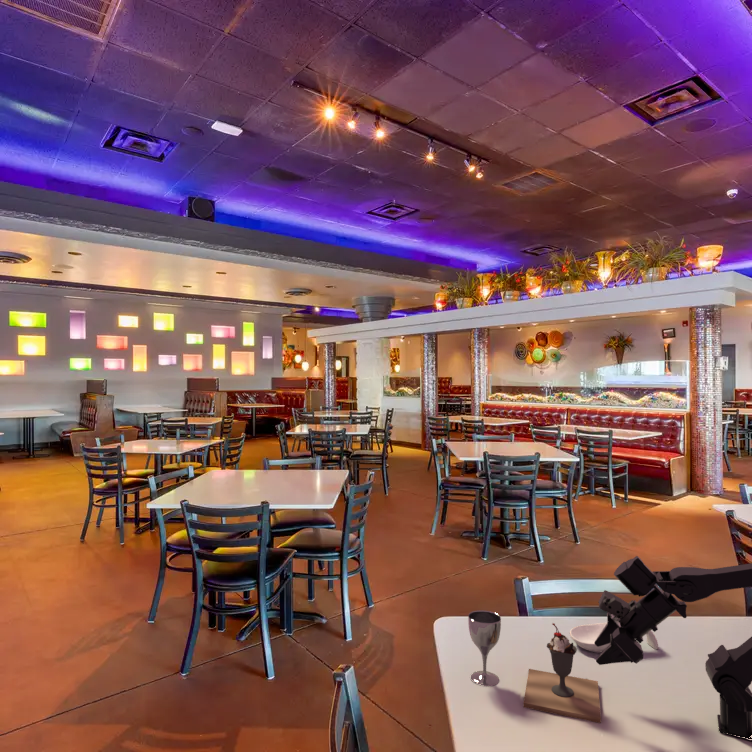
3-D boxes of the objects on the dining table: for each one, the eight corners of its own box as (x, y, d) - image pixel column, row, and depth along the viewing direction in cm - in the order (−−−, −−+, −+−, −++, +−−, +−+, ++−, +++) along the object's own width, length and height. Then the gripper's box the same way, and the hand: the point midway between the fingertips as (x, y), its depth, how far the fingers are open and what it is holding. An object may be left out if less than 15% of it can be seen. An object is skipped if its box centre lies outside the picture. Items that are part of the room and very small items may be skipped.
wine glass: (477, 689, 124) (477, 624, 125) (463, 672, 132) (463, 612, 133) (507, 684, 126) (506, 621, 127) (491, 668, 134) (491, 608, 135)
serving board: (600, 723, 111) (600, 718, 111) (523, 707, 117) (523, 702, 117) (597, 685, 126) (597, 681, 126) (529, 672, 132) (529, 668, 132)
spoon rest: (581, 658, 140) (580, 631, 141) (563, 638, 152) (562, 613, 152) (666, 656, 141) (665, 629, 142) (642, 637, 153) (641, 612, 154)
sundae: (546, 682, 126) (545, 618, 127) (575, 685, 124) (574, 621, 125) (548, 697, 119) (547, 630, 120) (579, 701, 118) (578, 633, 119)
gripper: (617, 569, 127) (570, 609, 131) (624, 596, 110) (569, 641, 113) (654, 607, 124) (604, 647, 127) (667, 641, 107) (609, 685, 110)
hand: (596, 653), depth 120 cm, fingers open, 9 cm apart
